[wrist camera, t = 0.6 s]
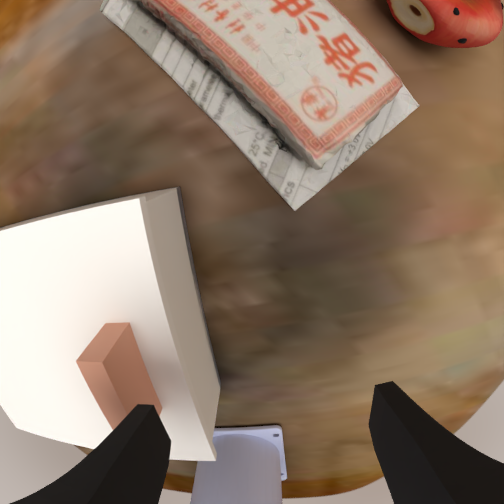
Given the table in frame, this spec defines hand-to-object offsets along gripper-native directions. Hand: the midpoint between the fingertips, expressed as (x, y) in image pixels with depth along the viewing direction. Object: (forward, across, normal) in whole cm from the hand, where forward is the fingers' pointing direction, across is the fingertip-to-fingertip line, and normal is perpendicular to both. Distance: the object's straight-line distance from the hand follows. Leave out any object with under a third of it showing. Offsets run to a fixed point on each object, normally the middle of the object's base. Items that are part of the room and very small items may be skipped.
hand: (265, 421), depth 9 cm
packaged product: (+11, -1, -15) cm, 19 cm away
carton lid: (+4, +12, 0) cm, 12 cm away
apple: (+10, -12, -17) cm, 23 cm away
